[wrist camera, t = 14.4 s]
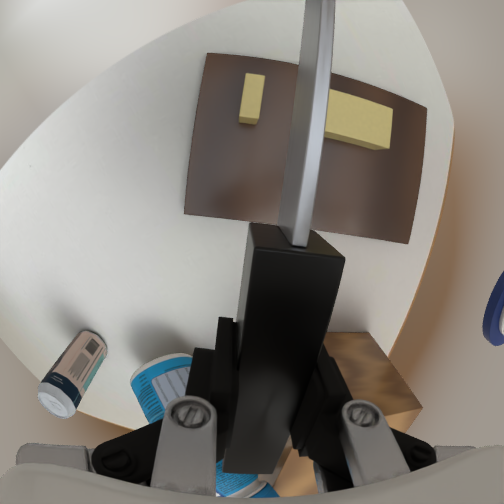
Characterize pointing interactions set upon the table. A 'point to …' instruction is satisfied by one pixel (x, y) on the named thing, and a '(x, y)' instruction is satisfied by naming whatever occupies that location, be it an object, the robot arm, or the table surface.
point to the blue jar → (174, 385)
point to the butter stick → (358, 121)
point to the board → (276, 148)
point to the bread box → (361, 387)
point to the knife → (287, 275)
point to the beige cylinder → (72, 374)
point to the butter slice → (251, 98)
